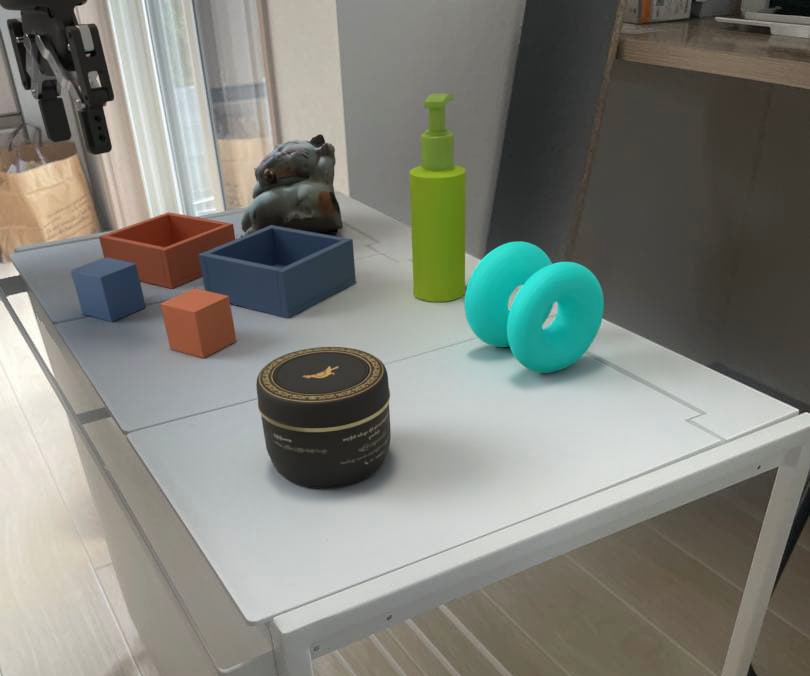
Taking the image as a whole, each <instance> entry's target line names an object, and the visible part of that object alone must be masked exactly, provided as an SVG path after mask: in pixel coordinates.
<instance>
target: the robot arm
mask: <svg viewBox="0 0 810 676" xmlns="http://www.w3.org/2000/svg"><path fill="white" fill-rule="evenodd" d="M87 2H88V0H0V7H1V8H3V9H4V10H7V11H20V17H18V18H17V17H15V18H8V19H6V26H7V29H8V34H9V37H10V41H11V45H12V49H13V53H14V57H15V61H16V66H17V69H18V73H19V78H20V81H21V85H22V87H23V89H24V90H25V91H31V95H32V97H33V99H34V100H35V101H36V100H37V103H38V107H39V111H40V115H41V119H42V122H43V126H44V130H45V134H46V138H47V139H48V140H49V142H53V143H59V142H64V141H69V140H71V138H72V131H71V127H70V124H69V120H68V116H67V112H66V111H67V110H66V108H65V103H64V99H63V97H60V96H61V95H62V88H63V89H65V90H67V91H68V92H69V94H70V96H71V98H72V100H73V102H74V104H75V107H76V108H77V109H78V110H77V115H78V119H79V123H80V127H81V131H82V132H81V133H82V135H83V140H84V144H85V148H86V151H87V152H88V153H89V154H90V155H95V156H97V155H101V154H107V153H110V152H111V151H112V149H113V145H112V141H111V136H110V131H109V128H108V123H107V118H106V113H105V110H104V107H107V103H108V102H113V101H114V100H115V93H114V89H113V85H112V80H111V76H110V72H109V69H108V65H107V60H106V57H105V53H104V52H105V51H104V48H103V44H102V39H101V35H100V32H99V31H100V30H99V27H98V26H97V25H96V23H93V22H92V23H81V24H80V23H79V21H78V18H77V15H76V13H75V8H76V7H80V6H84V5H85V4H87ZM97 79H98V80H99V82H98V80H97Z"/></svg>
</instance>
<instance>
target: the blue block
mask: <svg viewBox="0 0 810 676" xmlns="http://www.w3.org/2000/svg"><path fill="white" fill-rule="evenodd" d="M70 274H71V277H72V281H73V285H74V289H75V292H76V295H77V299H78V302H79V303H78V304H79V306H80V309H81V313H82V315H85V316H89V317H93V318H96V319H98V320H99V319H100V320H104V321H107V322H110V323H113V322H115V321H118V320H120V319H122V318H124V317H123V316H125V317H126V315H127V316H129V315H131V314H133V313H135V312H138V311H140V310H143V309H145V308H146V307H147V306H146V302H145V297H144V293H143V288H142V283H141V281H140V279H139V275H138V271H137V266H136V264H135V263H130V262H126V261H121V260H117V259H112V258H108V257H105V258H104V257H103V258H100V259H97V260H94V261H92V262H89V263H87V264H83V265H81V266H78V267H76V268H72V269H71V270H70ZM130 313H131V314H130ZM128 314H129V315H128ZM121 317H122V318H121ZM119 318H120V319H119ZM117 319H118V320H117Z"/></svg>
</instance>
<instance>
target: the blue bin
mask: <svg viewBox="0 0 810 676" xmlns="http://www.w3.org/2000/svg"><path fill="white" fill-rule="evenodd" d="M244 235H245V234H244ZM242 236H243V235H242ZM235 239H236V240H233V241H231V242H228V243H226V244H223V245H221V246H218V247H216V248H213V249H211V250H209V251H206V252H204V253H201V254H199V259H200V265H201V270H202V276H201V277H202V281H203V286H204V290H205V291H209V292H213V293H218V294H222V295H226V296H229V300H230V303H231V304H230V305H232V304H236V305H239V306H238V307H240V306H243V307H242V308H244V307H247V308H246V309H249V308H250V309H249V310H253V311H258V312H262V313H266V314H269V315H273V316H279V317H283V318H287V319H290V318H292V317H294V316H295V315H297V314H299V313H302V312H303V311H306V310H307V309H309V308H311V307H313V306H315V305H316V304H318V303H320V302H322V301H324V300H325V299H328V298H330V297H332V296H333V295H335V294H337V293H339V292H341V291H343V290H344V289H347V288H349V287H350V286H352V285H354V284H356V283H357V277H356V264H355V254H354V252H355V251H354V240H353V238H348V237H342V236H337V235H331V234H326V233H321V232H315V231H314V232H308V231H302V230H296V229H291V228H285V227H279V226H274V225H270V226H268V227H265V228H263V229H260V230H258V231H255V232H253V233H250V234H248V235H245V236H243V237H241V236H240V237H239V238H238V237H237V238H235ZM236 305H235V306H236Z"/></svg>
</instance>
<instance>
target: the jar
mask: <svg viewBox="0 0 810 676" xmlns="http://www.w3.org/2000/svg"><path fill="white" fill-rule="evenodd" d="M255 384H256V396H257V408H258V411H259V413H260V417H261V423H262V431H263V435H264V442H265V447H266V451H267V454H268V456H269V458H270V461H271V463H272V465H273V467H274V468H275V470H276V471H277V472H278V474H280V475H281V476H282V477H284V478H285V479H286V480H287V481H289V482H291V483H293V484H295V485H298V486H301V487H305V488H309V489H310V488H312V489H336V488H343V487H347V486H351V485H355V484H357V483H360V482H362V481H364V480H367V479H368V478H369V477H371V476H373V475H374V474H375V473H376V472H377V471H378V470H379V469H380V468H381V467H382V466H383V464H384V463H385V461H386V459H387V456H388V453H389V450H390V444H391V436H392V433H391V415H390V414H391V413H390V412H391V411H390V401H391V390H390V386H389V385H390V384H389V375H388V370H387V368H386V365H385V364H384V363H383V361H382V360H381V359H379V358H378V356H375V355H374V354H372V353H369V352H367V351H365V350H361V349H357V348H352V347H346V346H345V347H344V346H319V347H317V346H316V347H309V348H304V349H299V350H295V351H292V352H288V353H286V354H283V355H281V356H278V357H276V358H274V359H273V360H271V361H270V362H268V363H267V364H266V365H265V366H263V367H262V369H261V370H260V371H259V373H258V375H257V378H256V383H255Z"/></svg>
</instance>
